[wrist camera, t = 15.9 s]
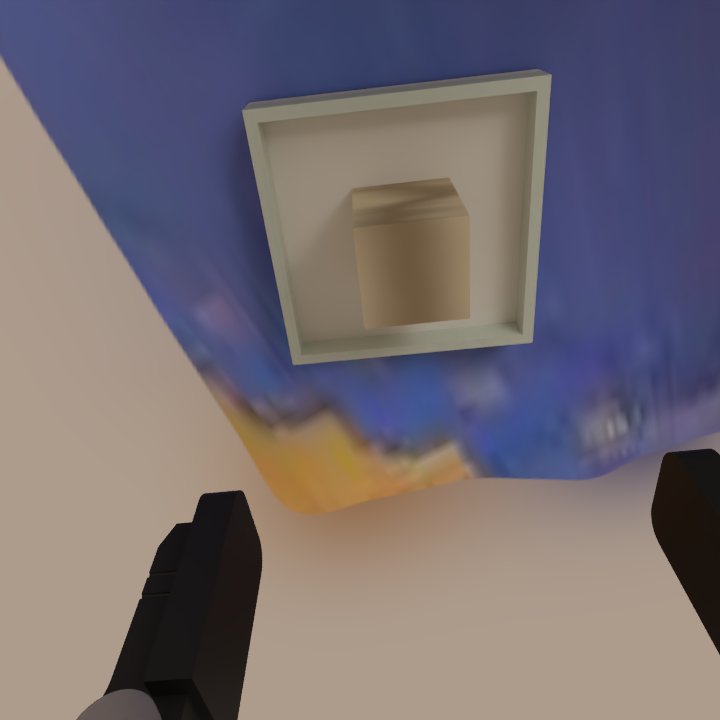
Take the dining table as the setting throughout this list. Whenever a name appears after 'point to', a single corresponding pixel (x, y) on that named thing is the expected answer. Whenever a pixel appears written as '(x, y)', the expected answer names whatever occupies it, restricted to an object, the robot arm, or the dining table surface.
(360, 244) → the birch block
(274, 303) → the dining table surface
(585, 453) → the dining table surface
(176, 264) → the dining table surface
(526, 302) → the dish
